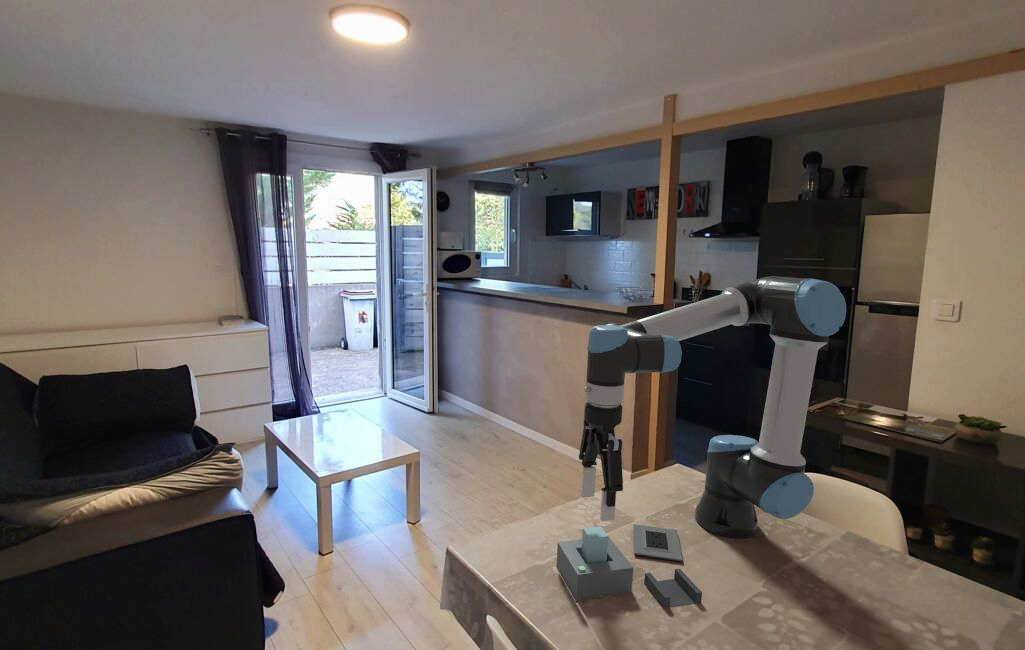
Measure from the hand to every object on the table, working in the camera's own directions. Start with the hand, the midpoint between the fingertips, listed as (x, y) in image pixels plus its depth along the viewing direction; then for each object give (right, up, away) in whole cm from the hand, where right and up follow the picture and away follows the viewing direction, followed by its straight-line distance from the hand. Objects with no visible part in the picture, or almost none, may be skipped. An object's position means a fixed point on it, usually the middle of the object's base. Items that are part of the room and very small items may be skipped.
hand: (597, 507), depth 111 cm
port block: (-1, -16, +2) cm, 17 cm away
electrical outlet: (+16, -16, +16) cm, 28 cm away
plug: (-1, -15, +2) cm, 16 cm away
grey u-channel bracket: (+15, -18, -2) cm, 23 cm away
